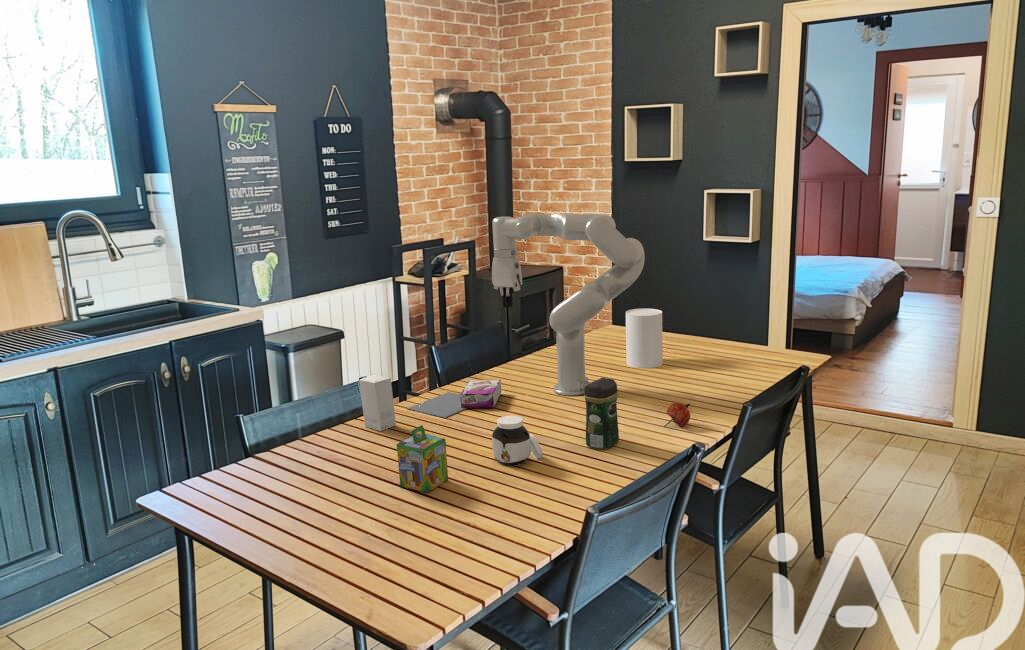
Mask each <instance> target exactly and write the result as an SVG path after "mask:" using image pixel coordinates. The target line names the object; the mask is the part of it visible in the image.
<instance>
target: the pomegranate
mask: <svg viewBox="0 0 1025 650" xmlns="http://www.w3.org/2000/svg"><path fill="white" fill-rule="evenodd" d="M689 406H691V403H690V402H689V403H687V404H683V403H682V402H673V403H671V404H669V406H668V407H667V408H666V414H667V415H668V416H669V417H670V418H671V419H670V420H669V421H668V422H667V423H665V425H664V426H663V427H666V426H668V425H670V423H672V422H673V423H675V424H676V425H677V426H678V427H680V428H682V427H684V426H686V425H687V424H688V423H689V422H690V419H691V412H690V410H689Z"/></svg>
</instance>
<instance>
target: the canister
mask: <svg viewBox="0 0 1025 650" xmlns="http://www.w3.org/2000/svg"><path fill="white" fill-rule="evenodd" d="M625 347H626V349H625V351H626V352H625V353H626V354H625V357H626V365H627V366H628V365H629V366H628V367H630V366H631V367H630V368H634V367H635V368H636V369H654V368H659V367H660V366H662V365H663V311H662V310H660V309H656V308H649V307H648V308H633V309H628V310H626V311H625ZM635 368H634V369H635Z"/></svg>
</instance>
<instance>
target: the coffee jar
mask: <svg viewBox="0 0 1025 650" xmlns="http://www.w3.org/2000/svg"><path fill="white" fill-rule="evenodd" d="M583 397H584V400H585V411H586V412H585V422H586V423H585V444H586V446H587V447H589V448H591V449H593V450H607V449H610V448H612V447H613V446H615V445H617V443H618V442H619V440H620V435H619V434H620V433H619V432H620V431H619V424H618V423H619V421H618V420H619V419H618V409H617V405H618V404H617V402H618V401H617V400H618V383H617V382H616V381H615V379H613V378H608V377H600V378H599V379H596V380H593V381H591V383H589V384H587V385H585V387H584V394H583Z"/></svg>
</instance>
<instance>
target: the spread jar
mask: <svg viewBox="0 0 1025 650" xmlns="http://www.w3.org/2000/svg"><path fill="white" fill-rule="evenodd" d="M496 422H497V425H496V426H497V427H496V428H494V430H493V431H492V434H491V445H492V447H491V448H492V454H493V457H494V459H495V460H496V461H497V462H498V463H499V464H500V465H501V466H502V465H503V466H505V467H514V466H515V467H517V466H521V465H522V464H524V463H525V462H526V461H527V460H528V459H530V456H531V453H532V454H533V456H534V457H535V458H536V459H538V460H539V459H540V458H542V457H544V452H543V449H542V447H541V445H540V443H539V441H538V440H537V438H536V437H535V435H534V434H532V433H529V431H528V429H527V428H526V427H525V426H524V419H523V417H521V416H519V415H506V416H505V415H504V416H501V417H499V418H497V420H496Z"/></svg>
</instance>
